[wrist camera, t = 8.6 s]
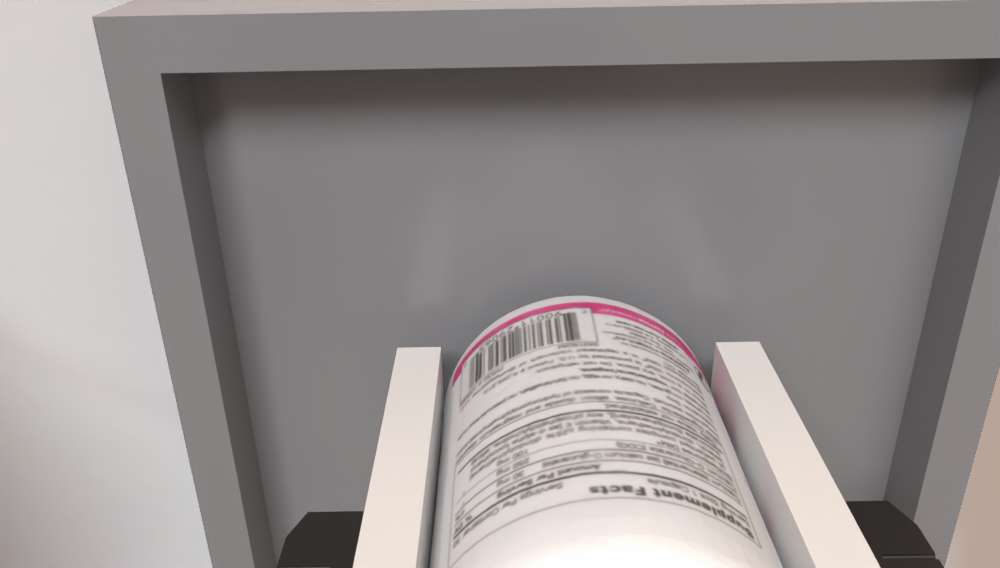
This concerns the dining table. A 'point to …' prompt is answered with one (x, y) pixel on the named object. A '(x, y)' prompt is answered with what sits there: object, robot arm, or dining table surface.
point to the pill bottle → (589, 449)
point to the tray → (561, 216)
